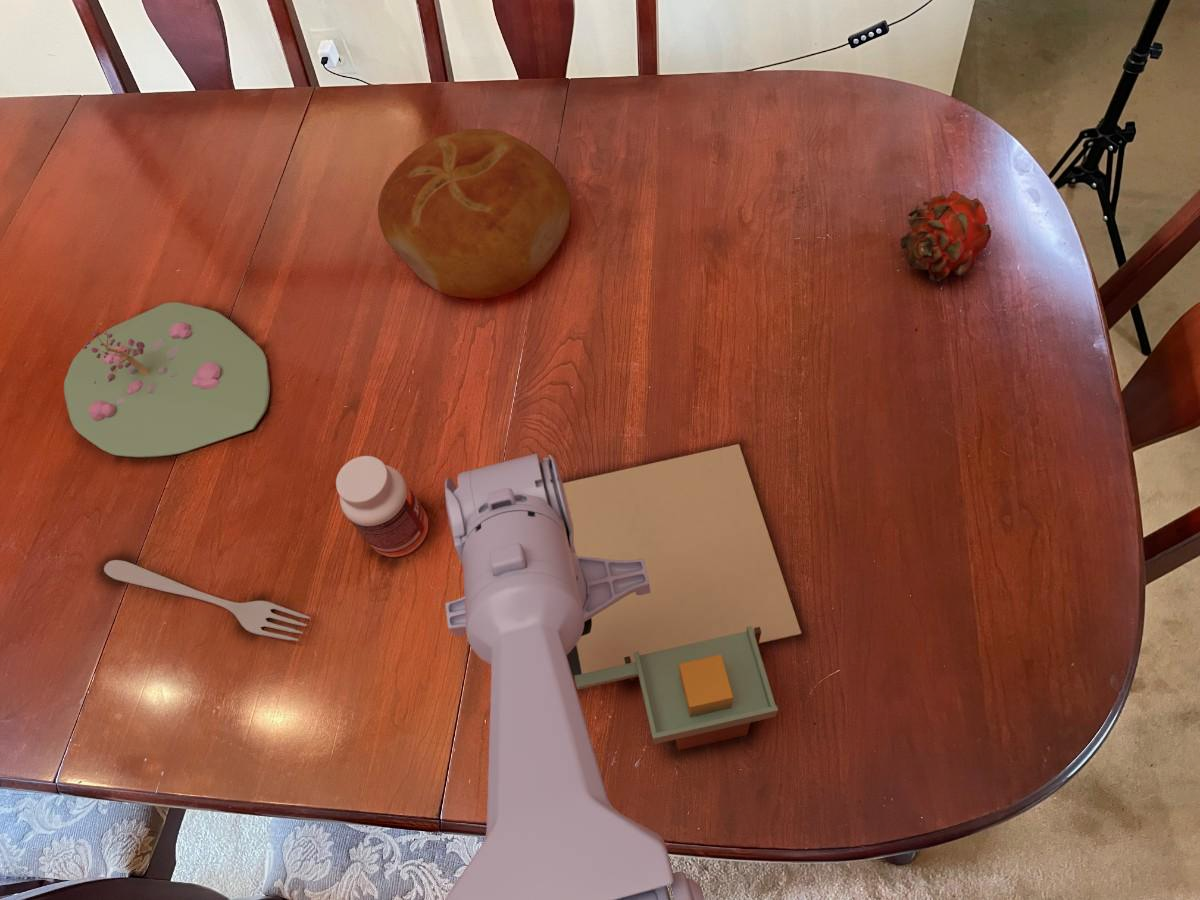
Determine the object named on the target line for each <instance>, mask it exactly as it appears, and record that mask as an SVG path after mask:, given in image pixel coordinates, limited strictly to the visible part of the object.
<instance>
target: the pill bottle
mask: <svg viewBox="0 0 1200 900" xmlns="http://www.w3.org/2000/svg"><path fill="white" fill-rule="evenodd" d="M335 487H336V491H337V493H338V495H339V504H340V508H341V511H342V513H343V514H344V515H345V517H346V518H347V519H348V520H349V521H350V523H351V524H352V525H353V526H354V527H355V529H356V530H357V531H358V532H359V533H360V535H361V536H362V537H363V538H364V540H365V541H366V542H367V544H368V545H370V546H371V548H372V549H373V550H374V551H375V552H377V553H378V554H380V555H383V556H386V557H389V558H398V557H402V556H406V555H409V554H410V553H412V552H414V551H415V550H416V549H417V548H419V547H420V546H421V544H422V543H423V542H424V540H425V539H426V536H427V534H428V530H429V517H428V516H427V513H426V511H425V509H424V507H423V506H422V505H421V503H420V501H419V500H418V498H417V496H416V495H415V494H414V492H413V490H412V489H411V487H410V486H409V484H408V482H407V481H406V480H405V478H404V476H403V475H402V474H401V472H400V471H398V470H397V469H396V468H394V467H392V466H390V465H388V464H385V463H384V462H383V461H382V460H381V459H380V458H377V457H375V456H372V455H361V456H356V457H354V458H352V459H350V460H349V461H347V462H346V463H345V464H344V465H343V466H341V468H340V469H339V471H338V473H337V475H336V479H335Z"/></svg>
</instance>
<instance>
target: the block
mask: <svg viewBox="0 0 1200 900" xmlns="http://www.w3.org/2000/svg"><path fill="white" fill-rule="evenodd" d="M679 676H680V680H681V684H682V688H683V692H684V696H685V700H686V704H687V708H688V712H689V716H690V717H694V716H698V715H702V714H707V713H711V712H716V711H720V710H724V709H729V708H732V702H733V694H732V690H731V687H730V683H729V680H728V676H727V672H726V669H725V665H724V661H723V658H722V655H721V654H720V655H716V656H712V657H707V658H703V659H698V660H694V661H689V662H685V663H681V664H679Z"/></svg>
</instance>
